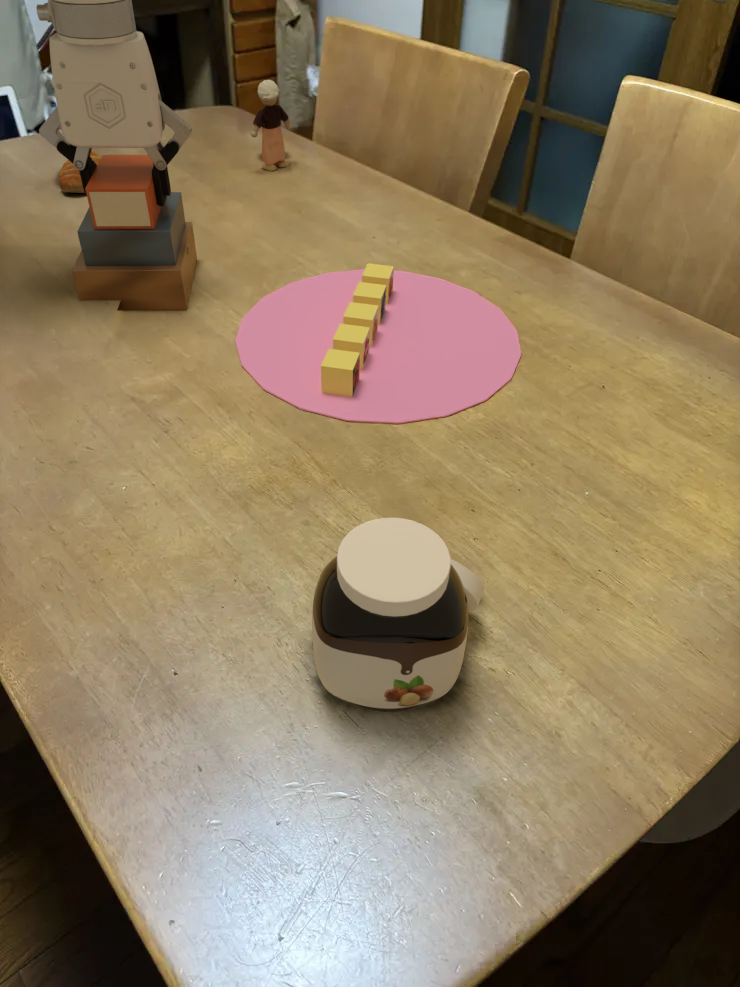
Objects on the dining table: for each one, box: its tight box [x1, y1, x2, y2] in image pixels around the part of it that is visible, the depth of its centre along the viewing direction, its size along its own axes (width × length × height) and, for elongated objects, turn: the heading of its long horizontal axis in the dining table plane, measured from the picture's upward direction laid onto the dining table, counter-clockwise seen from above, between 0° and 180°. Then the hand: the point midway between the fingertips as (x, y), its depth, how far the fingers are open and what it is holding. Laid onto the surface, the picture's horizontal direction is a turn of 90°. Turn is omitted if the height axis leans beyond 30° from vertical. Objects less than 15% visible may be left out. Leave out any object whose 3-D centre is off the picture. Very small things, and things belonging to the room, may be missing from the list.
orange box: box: [85, 154, 162, 229], centre depth 85 cm, size 6×10×4 cm, turn 4°
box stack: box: [71, 191, 198, 311], centre depth 89 cm, size 12×13×9 cm
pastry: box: [58, 150, 103, 194], centre depth 113 cm, size 9×7×4 cm
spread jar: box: [311, 517, 485, 714], centre depth 50 cm, size 12×11×12 cm
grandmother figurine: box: [250, 79, 293, 172], centre depth 117 cm, size 8×4×13 cm, turn 145°
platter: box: [234, 262, 522, 425], centre depth 84 cm, size 32×32×3 cm
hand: (129, 200), depth 85 cm, fingers closed on orange box, 6 cm apart
